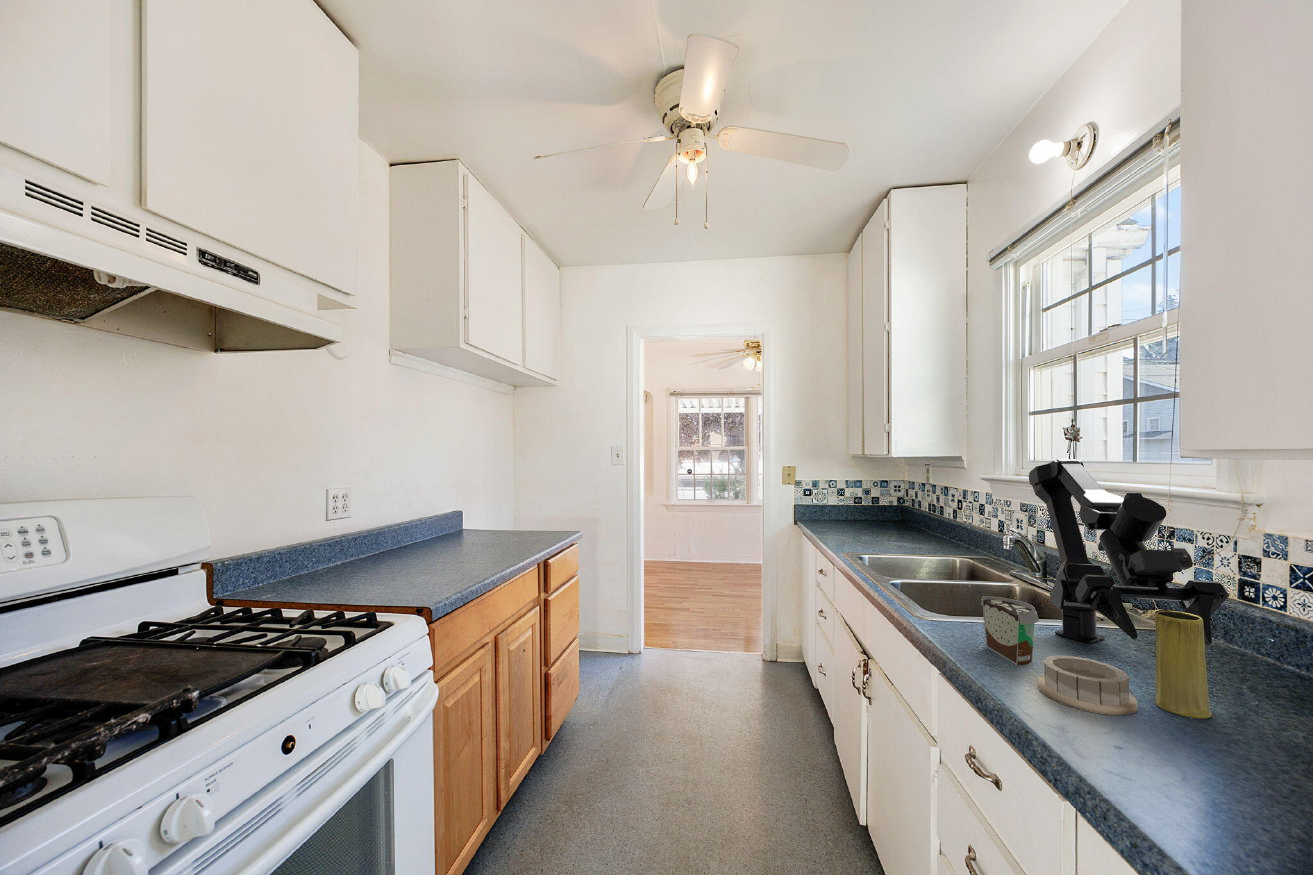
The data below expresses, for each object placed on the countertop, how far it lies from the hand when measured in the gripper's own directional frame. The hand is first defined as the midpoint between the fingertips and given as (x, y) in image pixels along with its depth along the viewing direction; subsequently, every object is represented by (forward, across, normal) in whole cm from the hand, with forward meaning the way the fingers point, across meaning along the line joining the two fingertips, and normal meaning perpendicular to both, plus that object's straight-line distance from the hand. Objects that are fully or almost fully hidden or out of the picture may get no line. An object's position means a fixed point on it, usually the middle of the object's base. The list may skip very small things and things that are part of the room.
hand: (1171, 641), depth 82 cm
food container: (-4, -16, +18) cm, 25 cm away
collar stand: (+8, -12, +6) cm, 15 cm away
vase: (+8, 0, +6) cm, 10 cm away
